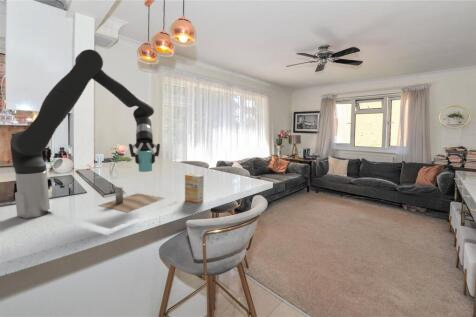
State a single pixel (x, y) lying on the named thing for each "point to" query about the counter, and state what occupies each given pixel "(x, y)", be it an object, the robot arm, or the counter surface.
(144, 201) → the post stand
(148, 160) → the teal cylinder
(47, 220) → the counter surface
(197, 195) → the supplement box
